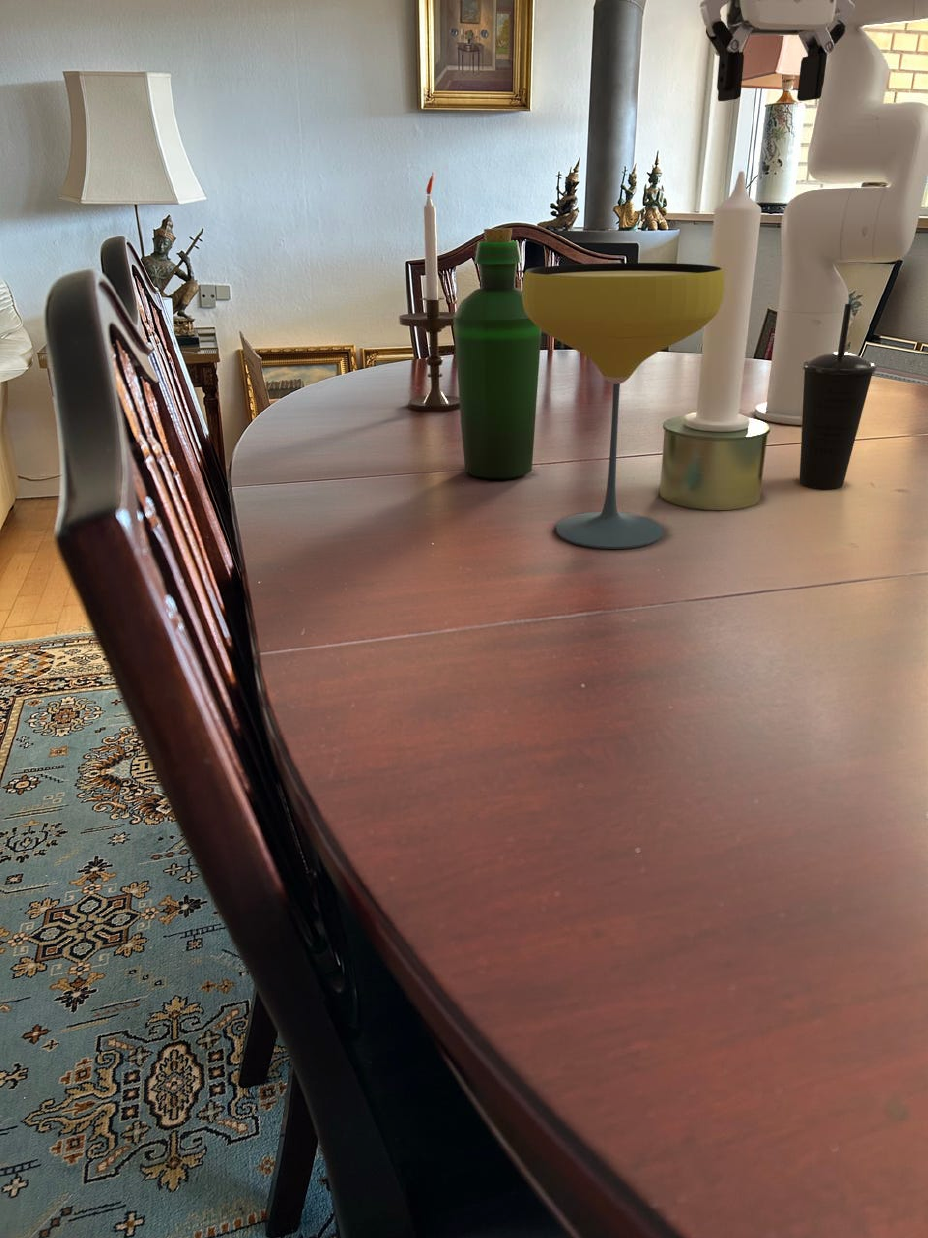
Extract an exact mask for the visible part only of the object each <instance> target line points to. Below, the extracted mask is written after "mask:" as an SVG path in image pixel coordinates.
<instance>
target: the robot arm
mask: <svg viewBox="0 0 928 1238" xmlns="http://www.w3.org/2000/svg"><path fill="white" fill-rule="evenodd" d="M725 5H726V13H725V15H726V16H725V17H726V20H725V21H726V23H725V22H724V21H723V20H722V13H721V10H722V8H723V7H724V6H725ZM699 11H700V15H701V18H702V21H703V24H704V26H705V34H706V36H707V38H708V40H709V41H710V42H711V44H712V46H713V47H714V54H715V55H716V56H717V57H719V58H718V69H717V83H716V89H717V101H718V102H728V101H733V100H738V99H739V98H740V97H741V96H742V95H741V94H742V84H743V75H744V73H743V72H744V63H745V55H744V51H740V49H741V47H742V46H743V44H745V42H746V41H747V39H748V37H749V36H780V37H781V36H784V37H786V36H798V38H799V39H800V41H801V44H802V46H803V48H804V50H805V52H806V54H807V55H806V56H804V57H803V56H802V57H801V58H802V59H801V61H800V68H799V78H798V85H797V86H798V87H797V95H796V99H797V101H799V102H806V101H813V100H817V105H816V110H815V115H814V119H813V123H812V124H813V125H812V128H811V133H810V139H809V144H808V151H807V158H806V159H807V160H806V161H807V163H806V164H807V170H808V173H809V175H810V176H811V177H812V178H813V179H814V180H816V181H819V182H823V183H834V184H854V183H855V184H856V183H885V184H887V185H888V186H861V187H859V186H857V187H856V186H841V187H840V186H839V187H819V188H818V187H817V188H812V189H807V190H805V191H802V192H799V193H797V194H796V195H794V196H793V197H792V198H791V199H790V200H789V201H788V203H787V204H786V206H785V207H784V210H783V213H782V217H781V225H780V234H781V235H780V237H781V239H780V240H781V278H780V289H779V298H778V306H777V314H776V320H775V321H776V322H775V330H774V337H773V338H774V339H773V347H772V355H771V363H770V369H769V370H770V371H769V379H768V387H767V395H766V402H763V403H761V404H758V405H757V406H755V407H754V415H755V417H757V418H758V419H760V420H763V421H767V422H771V423H776V424H783V425H793V426H802V415H803V394H804V373H805V370H804V369H803V368H802V366H803V363H804V362H806V361H809V360H812V359H814V358H816V357H818V356H821V355H824V354H829V353H838V348H839V342H840V335H841V329H842V322H843V315H844V309H845V304H849V299H850V297H849V291H848V287H847V284H846V283H845V281H844V279H843V277H842V276H841V275H840V273H839V272H838V270H837V268H836V266H835V264H845V263H855V264H856V263H860V264H861V263H862V264H863V263H865V264H866V263H868V264H869V263H871V264H877V263H878V264H879V263H880V264H881V263H883V264H884V263H893V262H897V261H899V260H901V259H903V258H904V257H905V256H906V255H907V254H908V253H909V251H910V249H911V247H912V244H913V241H914V239H915V235H916V232H917V228H918V223H919V219H920V214H921V211H922V210H921V209H922V205H923V200H924V195H925V190H926V186H927V181H928V105H927V104H926V103H923V102H916V101H904V102H903V101H902V102H901V101H899V102H887V103H886V102H885V103H884V101H885V96H886V92H887V87H888V82H889V78H890V77H889V76H890V67H889V63H888V61H887V60H886V58H885V56H884V54H883V52H882V50H881V49H880V48H879V46H878V45H877V44H876V42H875V41H874V40H873V39H872V38H871V36H869V35H868V34H867V32H866V31H865V30H864V27H873V26H884V25H893V24H903V23H912V22H913V23H914V22H922V21H926V20H928V0H703V1H701V2H700V4H699Z"/></svg>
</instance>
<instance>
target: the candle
mask: <svg viewBox="0 0 928 1238" xmlns="http://www.w3.org/2000/svg"><path fill="white" fill-rule="evenodd" d="M746 185H747V184H746V177H745V171H741V170H740V171H739V172H738V174H737V177H736V181H735V184H734V188H733V189H732V192H731V194H730V196H729V197H727V198H726V199H725V200H724V201H723V202H722V203H721V204H719V205H718V206H717V207H716V208H715V209H714V211H713V212H714V213H713V224H712V236H711V237H712V238H711V245H710V246H711V247H710V256H709V257H710V258H709V265H710V266H716V267H720V268H722V270H723V273H724V294H723V300H722V304H721V307H720V309H719V311H718V313H717V314H716V315H715V317H714V318H713V319H712V320H710V321H709V322H708V323H707V324H706V325H705V326H703V335H702V347H701V357H700V367H699V380H698V390H697V402H696V412H691V413H687V414H685V415H686V416H685V415H684V416H685V417H684V425H685V426H687V427H689V428H692V429H696V430H702V431H711V432H732V431H740V430H744V429H746V428H748V427H749V426H750V418H751V417H749V416H747V415H745V414H741V413H740V409H741V408H740V407H741V398H742V390H743V389H742V387H743V380H744V370H745V361H746V354H747V353H746V352H747V345H748V344H747V343H748V335H749V324H750V318H751V317H750V316H751V307H752V298H753V291H754V290H753V289H754V280H755V273H756V271H755V270H756V263H757V262H756V261H757V254H758V252H757V251H758V244H759V235H760V226H761V217H762V207H761V206H760V205H759V204H758V203H757V202H755V201H754V199H752V198H751V197H750V195H749V193H748V191H747V186H746Z"/></svg>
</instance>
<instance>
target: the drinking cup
mask: <svg viewBox="0 0 928 1238" xmlns="http://www.w3.org/2000/svg"><path fill="white" fill-rule="evenodd" d="M852 306H853V304H852V303H848V304H845V309H844V315H843V322H842V329H841V335H840V342H839V348H838V353H829V354H824V355H821V356H818V357H816V358H814V359H812V360H809V361H806V362H804V363H803V366H802V368H803V369H804V370H805V373H804V394H803V415H802V425H801V437H800V439H801V440H800V460H799V480H798V481H799V484H800V485H802V486H804V487H808V488H812V489H817V490H835V489H840V488H842V487H843V486H844V482H845V479H846V475H847V471H848V467H849V464H850V460H851V457H852V452H853V449H854V445H855V441H856V437H857V434H858V431H859V426H860V423H861V419H862V415H863V411H864V408H865V404H866V403H865V402H866V400H867V396H868V392H869V389H870V385H871V380H872V377H873V373H875V372H876V371H877V365H876V363H875V364H874V363H872V362H870V361H869V360H867V359H866V358H864V357H862V356H860V355H857V354H853V353H848V352H845V351H846V346H847V345H846V344H847V339H848V333H849V327H850V319H851V313H852Z"/></svg>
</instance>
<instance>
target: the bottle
mask: <svg viewBox="0 0 928 1238" xmlns="http://www.w3.org/2000/svg"><path fill="white" fill-rule="evenodd" d="M483 233H484V240H483V241H478V242H477V245H476V250H475V251H476V252H475V257H474V265H478V267H479V278H480V287H479V288H478V289H475V290H473V291H472V292H471V293H470V294H469V295H467V296H466V297H465V298H464V299H463V300H462V301H461V302H460V304H459V306H458V308H457V309H456V311H455V315H454V316H453V320H454V325H453V333H454V344H455V358H456V372H457V385H458V397H459V400H460V408H459V410H460V424H461V437H462V439H461V440H462V450H463V466H464V471H465V472H466V473H468V474H470V475H472V476H474V477H476V478H479V479H484V480H492V481H493V480H494V481H496V480H499V481H502V480H512V479H517V478H521V477H523V476H525V475H526V474H528V473H531V472H532V470H533V460H534V459H533V458H534V443H535V431H536V429H535V428H536V415H537V401H538V387H539V386H538V385H539V374H540V373H539V372H540V359H541V358H540V357H541V343H542V332H543V331H542V330H540V328H539V327H537V326H536V325H535V324H534V323H533V322H532V321H531V320H530V319H529V317H528V316H527V315H526V313H525V311H524V307H523V302H522V288H518V287H516V278H517V276H516V275H517V267H518V264H522V255H521V250H520V246H519V245H520V243H519V241H518V240H512V234H513V228H507V227H505V228H483Z"/></svg>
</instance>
